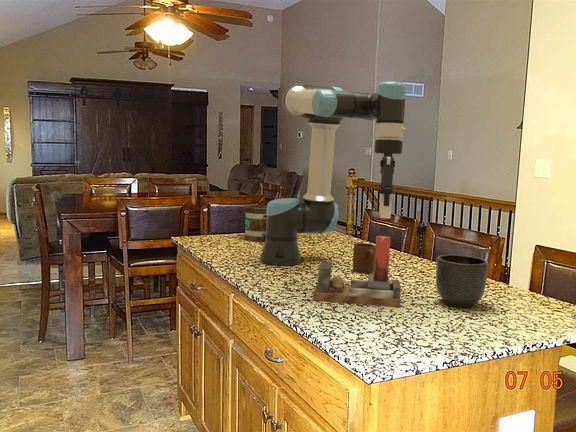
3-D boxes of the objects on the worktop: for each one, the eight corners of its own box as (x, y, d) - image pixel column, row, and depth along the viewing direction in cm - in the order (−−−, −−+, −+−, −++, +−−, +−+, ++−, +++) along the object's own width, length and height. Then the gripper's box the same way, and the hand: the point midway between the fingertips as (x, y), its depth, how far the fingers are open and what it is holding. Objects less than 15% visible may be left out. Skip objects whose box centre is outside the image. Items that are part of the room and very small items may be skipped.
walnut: (327, 289, 156) (327, 275, 155) (336, 287, 159) (337, 273, 158) (337, 292, 153) (337, 278, 152) (346, 290, 156) (347, 276, 155)
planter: (478, 314, 144) (482, 267, 142) (427, 304, 151) (430, 259, 149) (489, 302, 156) (493, 258, 154) (441, 294, 163) (444, 252, 161)
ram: (367, 294, 151) (370, 238, 149) (367, 287, 158) (370, 234, 156) (389, 296, 150) (392, 239, 148) (388, 289, 157) (391, 235, 155)
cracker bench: (313, 300, 151) (314, 268, 150) (317, 289, 163) (318, 260, 162) (399, 307, 148) (402, 275, 146) (397, 295, 159) (399, 265, 158)
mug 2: (382, 276, 182) (384, 249, 181) (361, 277, 181) (362, 249, 179) (369, 268, 194) (371, 243, 193) (349, 269, 192) (350, 243, 191)
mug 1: (238, 237, 248) (239, 205, 246) (264, 236, 255) (265, 204, 253) (257, 245, 231) (258, 210, 229) (284, 243, 238) (286, 210, 236)
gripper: (405, 138, 136) (400, 221, 139) (400, 140, 161) (395, 211, 163) (375, 137, 137) (371, 219, 140) (374, 140, 162) (371, 210, 164)
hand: (384, 215), depth 151 cm, fingers open, 13 cm apart
